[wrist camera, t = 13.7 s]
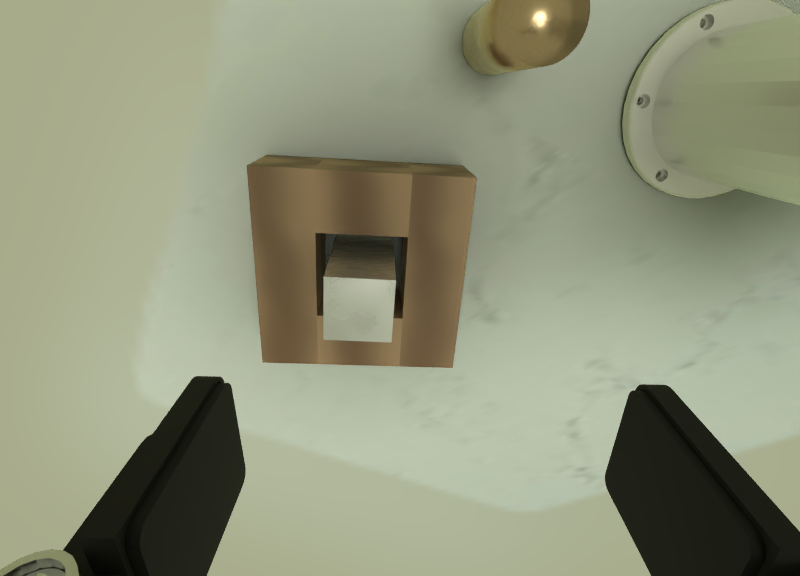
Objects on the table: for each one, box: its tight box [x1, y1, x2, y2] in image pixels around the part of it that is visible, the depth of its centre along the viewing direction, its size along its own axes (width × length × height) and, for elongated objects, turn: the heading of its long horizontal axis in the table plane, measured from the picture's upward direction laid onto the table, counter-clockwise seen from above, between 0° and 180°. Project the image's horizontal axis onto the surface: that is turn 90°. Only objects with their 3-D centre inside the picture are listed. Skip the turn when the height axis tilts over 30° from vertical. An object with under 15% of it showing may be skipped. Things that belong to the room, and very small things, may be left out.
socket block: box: [247, 155, 477, 368], centre depth 32 cm, size 14×14×5 cm
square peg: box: [323, 234, 396, 343], centre depth 30 cm, size 4×4×10 cm
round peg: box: [462, 0, 590, 75], centre depth 24 cm, size 4×4×10 cm
